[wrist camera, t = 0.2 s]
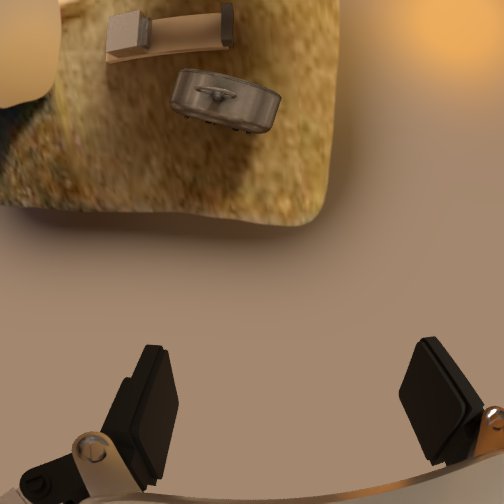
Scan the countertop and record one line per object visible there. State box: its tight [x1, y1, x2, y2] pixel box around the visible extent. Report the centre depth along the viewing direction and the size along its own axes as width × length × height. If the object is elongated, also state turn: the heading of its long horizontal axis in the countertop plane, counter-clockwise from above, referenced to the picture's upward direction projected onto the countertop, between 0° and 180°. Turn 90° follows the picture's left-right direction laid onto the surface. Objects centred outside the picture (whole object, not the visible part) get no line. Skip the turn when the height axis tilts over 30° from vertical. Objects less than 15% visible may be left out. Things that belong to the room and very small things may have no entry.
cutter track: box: [106, 3, 234, 64], centre depth 29 cm, size 5×17×4 cm, turn 90°
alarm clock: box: [170, 68, 281, 135], centre depth 28 cm, size 11×5×16 cm, turn 73°
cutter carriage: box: [106, 10, 152, 58], centre depth 28 cm, size 5×5×4 cm
